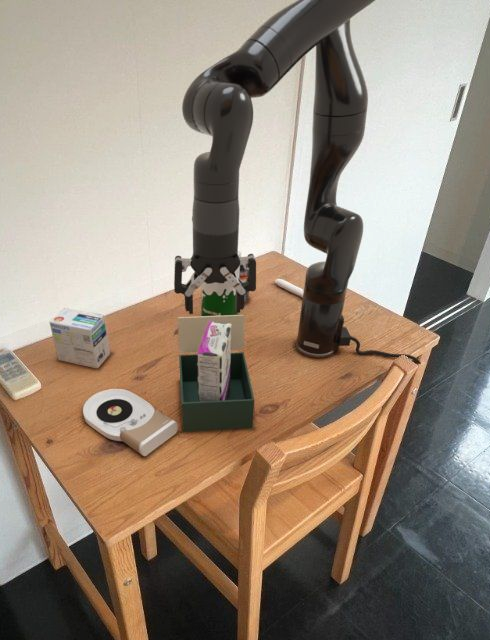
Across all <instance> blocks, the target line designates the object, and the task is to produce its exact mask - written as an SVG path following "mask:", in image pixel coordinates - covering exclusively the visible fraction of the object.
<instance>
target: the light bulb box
mask: <svg viewBox="0 0 490 640" xmlns="http://www.w3.org/2000/svg"><path fill="white" fill-rule="evenodd" d="M48 322H49V327H50V331H51V334H52V339H53V344H54V347H55V351H56V355H57V360H58V361H61V362H65V363H69V364H70V363H71V364H75V365H80V366H84V367H88V368H93V369H99V368H100V367H101V365H102V364H103V363H104V362H105V361H106V360H107V359H108V357H109V356H110V355H111V347H110V342H109V341H110V340H109V334H108V328H107V323H106V316H105V314H100V313H95V312H87V311H82V310H77V309H72V308H68V307H67V308H66V307H64V308H62V309H61V310H60V311H59V312H58V313H57V314H56V315H55V316H54V317H53V318H51V319H50V320H49V321H48Z"/></svg>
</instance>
